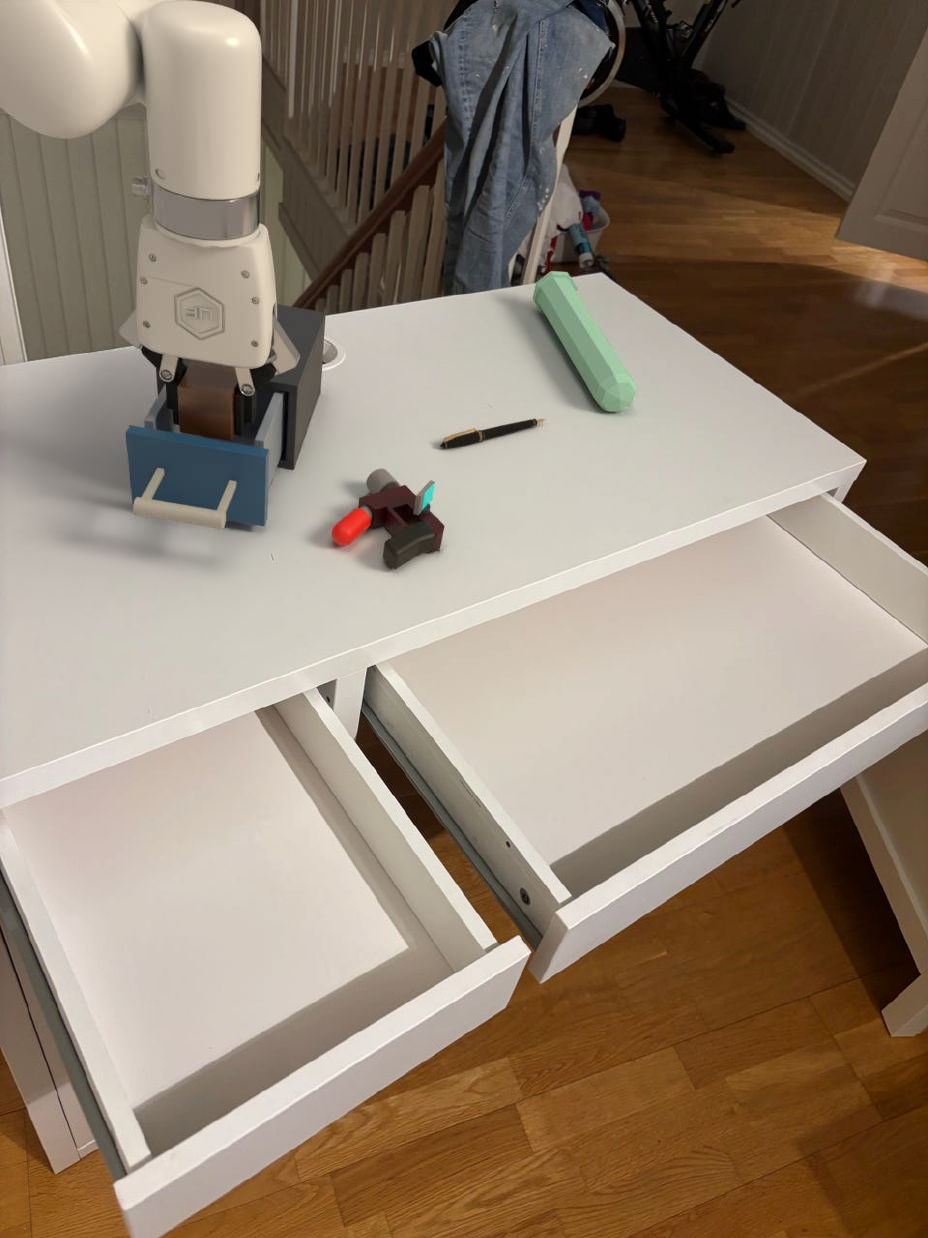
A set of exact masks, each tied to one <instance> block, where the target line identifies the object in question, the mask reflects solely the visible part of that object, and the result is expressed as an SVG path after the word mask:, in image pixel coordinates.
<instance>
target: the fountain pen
mask: <svg viewBox="0 0 928 1238" xmlns="http://www.w3.org/2000/svg"><path fill="white" fill-rule="evenodd" d="M546 420H547V418H539V419H537V418H531V419H525V420H520V421H515V422H511V423H506V424H501V425H498V426H493V427H488V428H485V429H476V428H474V427H473V428H469V429H467V430H463V431H460V432H457V433H453V434H451V435H448V436H446V437H444V438H443V442H441V443H440V445H439V447H440V448H443V449H455V448H461V447H465V446H466V447H467V446H471V445H475V444H478V443H483V442H484V441H488V440H490V439H495V438H498V437H502V436H503V437H504V436H506V435H510V434H513V433H516V432H520V431H523V430H527V429H530V428H534V427H536V426H538V424H540V423H541V424H542V423H544V421H546Z"/></svg>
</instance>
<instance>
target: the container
mask: <svg viewBox="0 0 928 1238" xmlns="http://www.w3.org/2000/svg"><path fill="white" fill-rule="evenodd" d="M578 289H579V287H578V286H577V284H576V282H575V281H574V280H573V278H572V276H571V275H570V274H569V272H568V271H554V270H551V271H549V272H548V273H547V274H545V275H544V276H543V277H541V278H540V279H539V280H537V281H536V282H535V286H534V291H533V293H532V294H533V295H532V301H533V303H534V304H535V305H536V307H537V308H538V310H539V311H540V312H541V314H542V315H545V317H546V318H547V320H548V322H549V323H550V325H551V327H552V328H553V330H554V332H555V334H556V335H557V337H558V339H559V340H560V342H561V344H562V345H563V347H564V349H565V351H566V353H567V354H568V356H569V357H570V359H571V361H572V363H573V364H574V366H575V368H576V370H577V371H578V374H580V376H581V378H582V380H583V382H584V383H585V385H586V387H587V388H588V391H589V392H590V393H591V395H592V397H593V399H594V400H595V401H596V404H598V406H599V407H600V408H601V409H602V410H603V411H606V412H622V411H624V410H625V409H626V408H628V407H629V406H631V405H632V404H633V403H634V399H635V396H636V392H637V386H638V385H637V383H636V381H635V380H634V378H633V377H632V375H631V374H630V372H629V370H628V369H627V367H626V366H625V364H624V363H623V362H622V360H621V358H620V357H619V355H618V354H617V352H616V351H615V349H614V347H613V346H612V344H611V343H610V341H609V340H608V338H607V337H606V335H605V333H604V332H603V330H602V329H601V327H600V326H599V324H598V323H597V321H596V320H595V318H594V317H593V315H592V314H591V312H590V311H589V309H588V307H587V306H586V304H585V303H584V300H582V298H581V296H580V295H579V294H578Z"/></svg>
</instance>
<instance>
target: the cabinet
mask: <svg viewBox="0 0 928 1238" xmlns="http://www.w3.org/2000/svg"><path fill="white" fill-rule="evenodd" d="M326 316H327V313H326V312H322V311H317V310H312V309H307V308H301V307H295V306H290V305H285V304H279V303H277V320H278V322H279V323H280V325H281V326H282V328H283V329H284V331H285V332H286V334H287V335H288V337H289V338H290V340H291V342H292V343H293V345H294V346H295V348H296V349H297V351H298V352H299V354H300V358H299V361H298V363H297V366H296V367H295V368H292V369H290V370H288V371H286V372H284V373H281V374H278V375H276V376H274V377H273V378H272V379H271V380H270V381H268V382H267V383H265V384H264V385H262V386H261V387H263V388H269V389H274V390H280V391H286V392H289V398H288V422H287V441H286V444H285V446H284V449H283V452H282V454H281V457H280V460H279V463H278V465H277V468H280V469H281V468H282V469H289V470H295V467H296V465H297V464H296V463H297V461H298V458H299V456H300V452H301V450H302V447H303V444H304V442H305V438H306V435H307V432H308V430H309V427H310V424H311V421H312V418H313V415H314V412H315V409H316V406H317V404H318V401H319V398H320V395H321V391H322V378H323V377H322V376H323V362H324V361H323V360H324V345H325V331H326V319H327V318H326ZM275 354H276V353H275V352H274V350H273V349H272V347H271V348H270V353H269V356H268V357H272V356H274V355H275ZM192 361H196V360H190V359H185V358H184V361H183V363H184V364H185V366H188V367H189V365H190V364H191V362H192ZM196 362H202V361H196ZM202 363H207V362H202ZM207 364H213V363H207ZM213 365H219V364H213ZM219 366H224V367H230V366H225V365H219ZM230 368H234V367H230ZM155 376H156V377H155V378H156V390H157V391H156V392H157V397H158V396H159V394H160V392H161V390H162V389H163V387H164V385H165V384H166V382H165V381H164V380H162V379H161V378H160V375H159V371H158V370H157V369H156V368H155Z"/></svg>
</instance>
